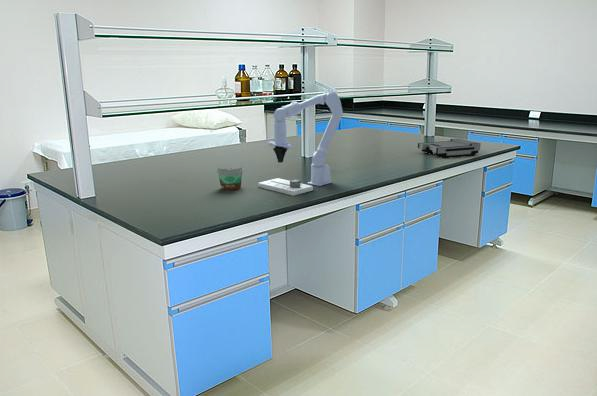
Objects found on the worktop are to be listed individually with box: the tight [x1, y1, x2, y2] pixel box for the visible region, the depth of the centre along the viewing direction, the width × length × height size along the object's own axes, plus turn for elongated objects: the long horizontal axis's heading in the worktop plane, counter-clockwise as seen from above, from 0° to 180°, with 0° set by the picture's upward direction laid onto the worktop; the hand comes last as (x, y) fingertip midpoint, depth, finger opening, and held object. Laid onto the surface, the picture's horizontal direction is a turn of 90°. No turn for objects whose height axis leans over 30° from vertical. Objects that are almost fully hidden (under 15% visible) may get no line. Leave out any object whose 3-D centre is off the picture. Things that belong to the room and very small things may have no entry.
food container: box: [216, 167, 245, 192], centre depth 227 cm, size 12×6×10 cm, turn 106°
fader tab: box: [289, 179, 302, 188], centre depth 224 cm, size 4×3×3 cm
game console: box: [417, 138, 481, 159], centre depth 313 cm, size 21×32×8 cm, turn 111°
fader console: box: [257, 177, 314, 197], centre depth 229 cm, size 13×23×2 cm, turn 47°
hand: (280, 162), depth 237 cm, fingers closed
